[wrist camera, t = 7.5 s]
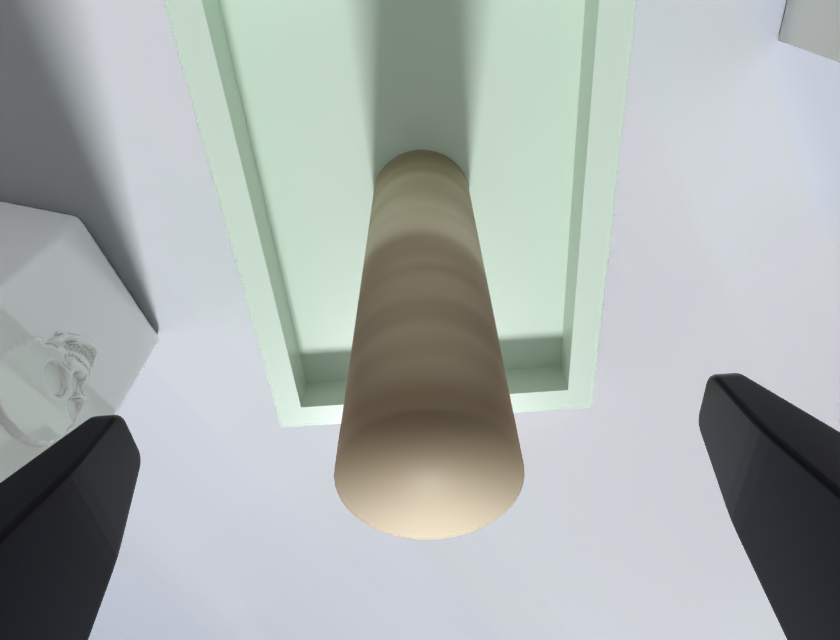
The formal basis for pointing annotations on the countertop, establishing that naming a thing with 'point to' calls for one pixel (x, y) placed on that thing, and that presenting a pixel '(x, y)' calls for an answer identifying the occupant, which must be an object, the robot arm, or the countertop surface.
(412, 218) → the dowel
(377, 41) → the tray
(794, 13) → the white square tube
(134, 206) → the countertop surface
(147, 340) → the jar
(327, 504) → the countertop surface
